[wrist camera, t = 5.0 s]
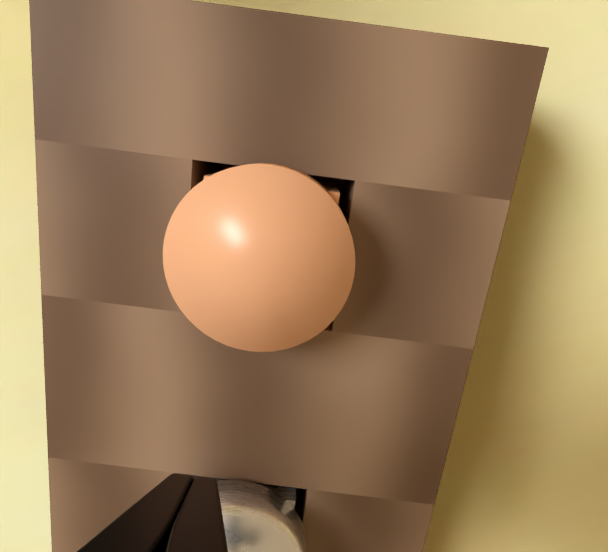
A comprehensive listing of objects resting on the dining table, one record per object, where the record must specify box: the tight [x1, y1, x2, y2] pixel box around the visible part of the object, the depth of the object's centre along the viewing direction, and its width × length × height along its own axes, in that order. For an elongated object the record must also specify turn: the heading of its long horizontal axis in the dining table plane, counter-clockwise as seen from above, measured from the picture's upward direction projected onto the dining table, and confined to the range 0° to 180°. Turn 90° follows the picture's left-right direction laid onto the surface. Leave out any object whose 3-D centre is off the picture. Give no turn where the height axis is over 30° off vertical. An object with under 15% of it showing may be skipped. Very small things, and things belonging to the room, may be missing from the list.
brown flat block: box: [29, 0, 549, 552], centre depth 18 cm, size 14×24×5 cm, turn 173°
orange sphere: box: [163, 163, 355, 352], centre depth 15 cm, size 5×5×5 cm
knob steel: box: [192, 475, 306, 552], centre depth 18 cm, size 5×5×5 cm
